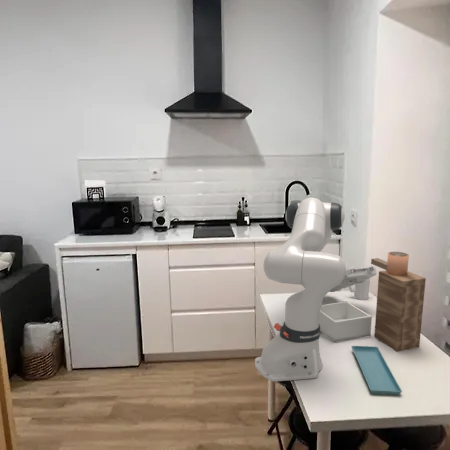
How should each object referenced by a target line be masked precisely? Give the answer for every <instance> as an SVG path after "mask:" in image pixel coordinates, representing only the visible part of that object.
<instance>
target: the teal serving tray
mask: <svg viewBox="0 0 450 450" xmlns="http://www.w3.org/2000/svg"><path fill="white" fill-rule="evenodd" d="M351 348H352V351H353V354H354V355H355V356H354V357H355V358H356V360H357V362H358V365H359V367H360V370H361V372H362V374H363V376H364V379H365V381H366V383H367V386H368V388H369V390H370V393H371V394H373V395H388V396H389V395H391V396H399V395H400V394H402V392H403V390H402V388H401V387H400V385H399V383H398V381H397V380H396V378H395V376H394V374H393V372H392V370H391V368H390V367H389V365H388V363H387V362H386V360H385V357H384V356H383V354H382V353H381V350H380V348H379V347H378V346H370V345H369V346H367V345H366V346H365V345H362V346H361V345H351Z"/></svg>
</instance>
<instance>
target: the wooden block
mask: <svg viewBox="0 0 450 450" xmlns="http://www.w3.org/2000/svg"><path fill="white" fill-rule="evenodd" d="M377 280H378V281H377V282H378V283H377V291H376V292H377V294H376V296H377V297H376V306H375V307H376V309H375V310H376V311H375V323H374V324H375V325H374V338H375V339H377V340H379V342H381V343H383V344H384V345H386V346H388V347H389V348H391V349H392V350H394V351H395V352H402V351H407V350H411V349H417V348H420V343H421V342H420V341H421V331H422V324H423V323H422V322H423V321H422V320H423V312H424V302H425V289H426V282H427V281H426V280H427V279H426V277H423V276H420V275H418V274H415V273H413V272H411V271H408V272H407V275H405V276H396V275H391V274H388V273H387V270H379V271H378V279H377Z"/></svg>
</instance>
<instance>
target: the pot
mask: <svg viewBox="0 0 450 450" xmlns="http://www.w3.org/2000/svg"><path fill="white" fill-rule="evenodd" d="M409 257H410V255H409V254H408V253H406V252H401V251H389V252H387V261H386V260H384V259H381V258H378V257H377V258H371V260H370V261H371V262H370V264H371V265H373V266H374V267H375V266H376V267H377V268H380V269H382V270H384V271H386V270H387V273H388V274H391V275H396V276H405V275H407V272H409V271H408V268H409Z"/></svg>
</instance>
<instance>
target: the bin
mask: <svg viewBox="0 0 450 450" xmlns="http://www.w3.org/2000/svg"><path fill="white" fill-rule="evenodd" d="M372 318H373V317H372V315H370V313H369V314H368V313H367V312H365V311H364V310H362V309H360V308H358V307H357V306H356V305H353V304H352V303H350V302H349V301H339V302H334V303H333V302H332V303H328V304H327V303H326V304H321V308H320V317H319V324H320V331H321V332H320V333H322V334H323V335H324V336H325V335H326V338H328V340H330V341H332V342H333V343H339V342H345V341H350V340H357V339H360V338H361V339H362V338H367V337H368V338H369V337H371V336H372V334H371V330H372V321H373V320H372Z"/></svg>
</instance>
